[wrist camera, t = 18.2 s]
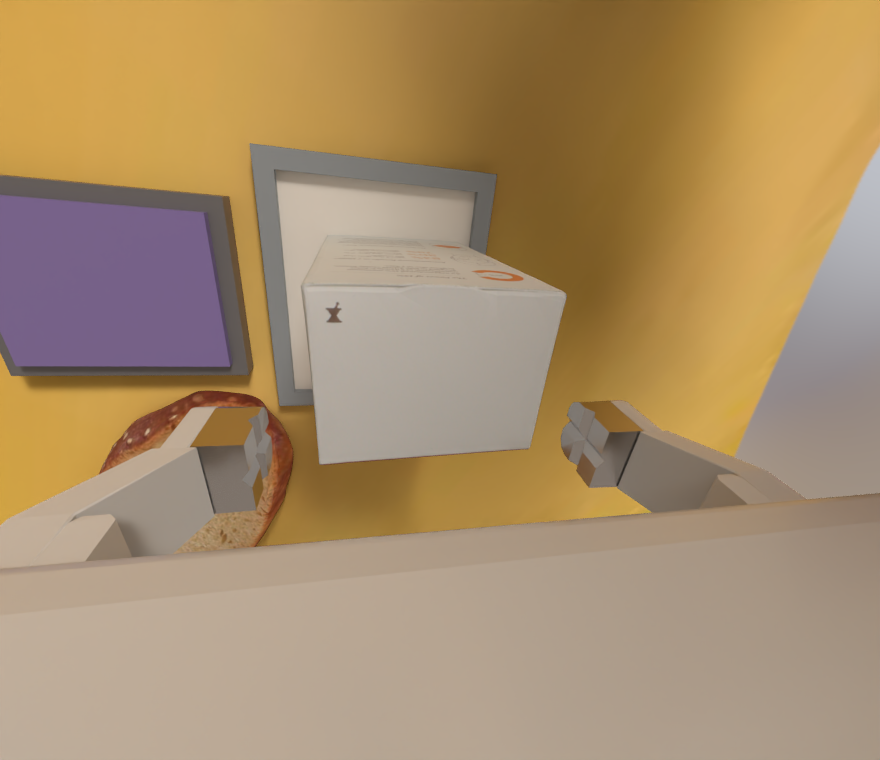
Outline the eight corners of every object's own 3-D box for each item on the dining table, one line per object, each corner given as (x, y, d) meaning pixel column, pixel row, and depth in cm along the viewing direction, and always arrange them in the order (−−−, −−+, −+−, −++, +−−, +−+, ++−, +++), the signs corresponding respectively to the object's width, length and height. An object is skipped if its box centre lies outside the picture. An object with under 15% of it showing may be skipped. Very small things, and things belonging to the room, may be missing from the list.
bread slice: (173, 610, 32) (152, 656, 29) (-9, 468, 24) (-68, 511, 21) (362, 534, 33) (362, 571, 30) (251, 368, 24) (235, 395, 21)
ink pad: (228, 196, 19) (218, 196, 18) (253, 367, 24) (246, 378, 22) (-58, 169, 17) (-98, 166, 15) (28, 366, 21) (3, 379, 20)
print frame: (492, 175, 22) (497, 174, 21) (462, 396, 28) (465, 402, 27) (253, 145, 19) (249, 143, 18) (281, 400, 25) (279, 405, 25)
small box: (331, 337, 24) (312, 470, 12) (325, 232, 21) (294, 277, 9) (452, 337, 25) (533, 453, 14) (461, 240, 23) (572, 287, 11)
